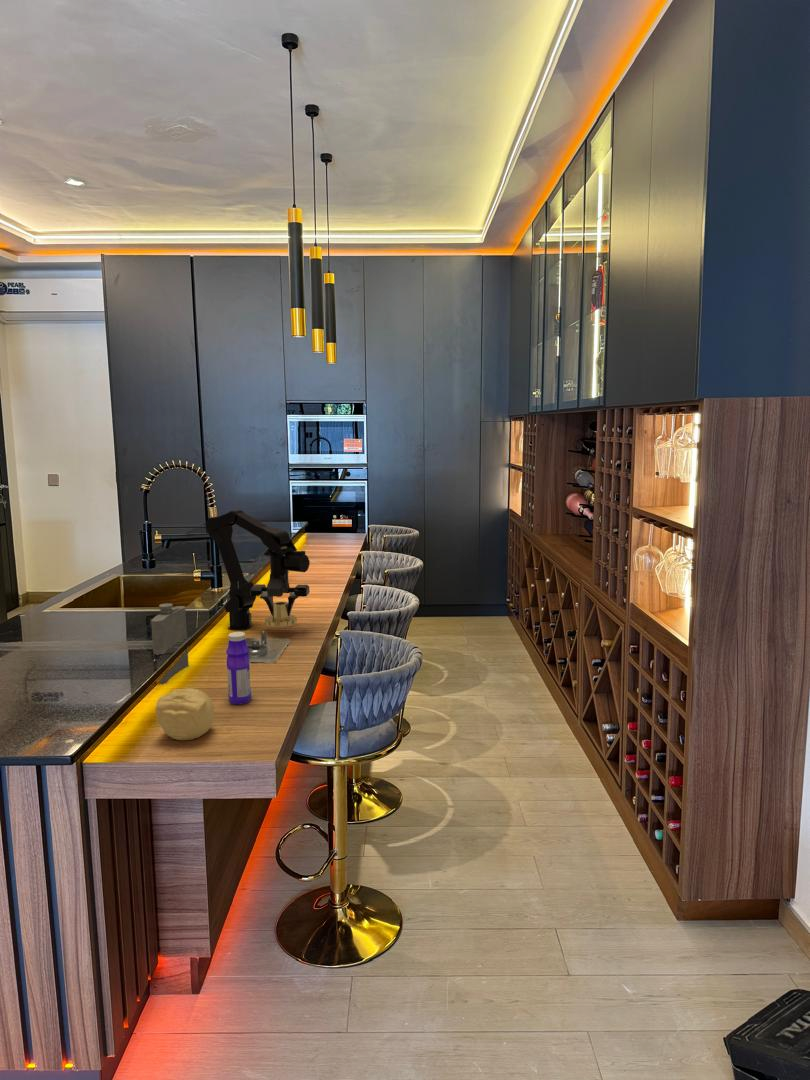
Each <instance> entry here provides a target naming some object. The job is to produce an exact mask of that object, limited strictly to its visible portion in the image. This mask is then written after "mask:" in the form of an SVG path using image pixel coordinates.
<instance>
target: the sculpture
mask: <svg viewBox="0 0 810 1080" xmlns="http://www.w3.org/2000/svg"><path fill="white" fill-rule="evenodd" d="M155 714H156V716H155V717H156V718H155V719H156V722H157V724H159V725H160V726H161V728H162V730H163V731H164V733H165V734H166V735H167V737H170V738H171V739H173V740H177V741H192V740H195V738H196V739H198V738H200V737H201V736H204V735H205V734H206V733H207V732H208V731H209V730H210V728H211V726H212V724H213V721H214V718H215V717H214V716H215V708H214V704H213V701H212V700H211V698H210V696H208V694H207V693H205V691H202V690H201V689H197V688H193V687H192V688H190V687H189V688H188V687H187V688H181V689H179V688H175V689H173V690H171V691H170V692H169V693H167V694H164V695H162V696H160V697H159V698H158V699H157V702H156V706H155Z"/></svg>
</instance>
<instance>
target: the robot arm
mask: <svg viewBox="0 0 810 1080" xmlns="http://www.w3.org/2000/svg"><path fill="white" fill-rule="evenodd" d="M234 526H238V527H240V528H241V529H243V530H245V531H247V532H248V533H250V534H252V535H254V536H255V537H257V538H258V539H260V540H261V542H262V544H263V545H264V546H266V548H268V549H267V551H265V552H264V554H263V555H264V556H265V557H266V556H267V557H269V569H270V570H269V571H270V572H269V573H270V574H269V580H268V582H267V585H266V584H262V583H261V584H256V583H255V584H254V583H253V581H249V582H248V581H247V580H246V578H245V575H244V573H243V570H242V567H241V564H240V561H239V558H238V555H237V552H236V549H235V546H234V543H233V540H232V537H233V532H234V530H233V527H234ZM205 529H206V531H207V533H208V535H209V537H210V539H212V540H213V542H215V543H216V545H217V548H218V551H219V554H220V557H221V559H222V563H223V565H224V568H225V571H226V575H227V577H228V580H229V585H230V586H229V589H228V590H229V591H228V594H229V600H228V601H227V602H226V603H225V605H224V606H223V607H224V610H225V613H228V615H229V617H228V618H229V627H228V628H227V629H228V630H248V629H249V628H250V627H251V626H252V624H253V623H252V613H251V611H250V609H252V608H253V607H254V603H255V602H256V599H257V597H259V599H262V600H264V601H265V603H266V605H267V607H268V610H269V612H270V616H273V605H272V604H273V603H274V597H278V598H281V597H283V595H284V594H289V596H288V597H287V602H288V616H290V615H291V612H292V610H293V607H294V604H295V601H296V599H298V598H300V597H303V598H304V597H307V596H308V595H309V594H310V586H309V585H308V584H297V585H295V587H292V586H291V587H290V583H289V573H290V571H291V572H299V573H306V572H307V571H308V570H309V567H310V562H311V561H310V559H309V557H308V555H307V554H306V551H305V550H298V549H297V547H296V546H295V544H294V542H293V540H291V538H290V534H289V533H288V531H285V530H283V529H280V528H277V527H272V526H268V525H267V524H264V523H263V522H261V521H259V520H257V519H256V518H254V517H252V516H250V515H248V514H247V513H245V512H244V511H243V510H241V509H235V510H230V511H229V512H227V513H224V514H222V515H217V516H210V517H209V518H207V519H206V522H205Z"/></svg>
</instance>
